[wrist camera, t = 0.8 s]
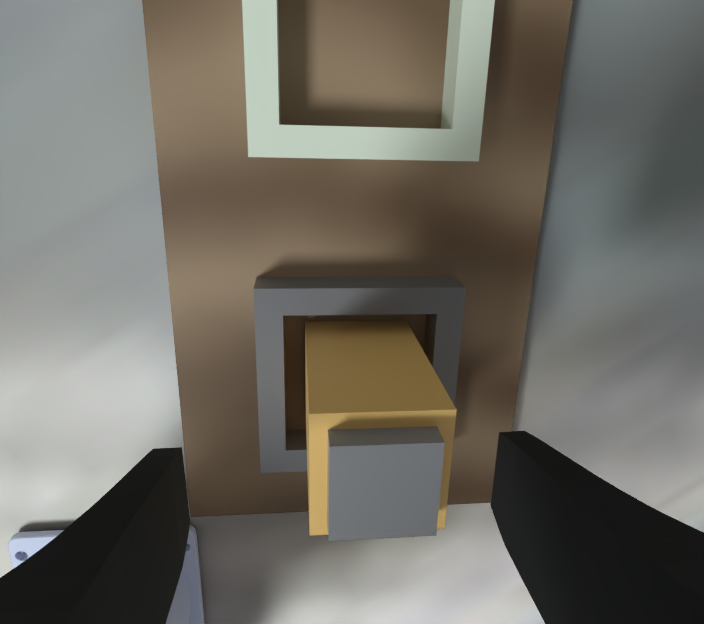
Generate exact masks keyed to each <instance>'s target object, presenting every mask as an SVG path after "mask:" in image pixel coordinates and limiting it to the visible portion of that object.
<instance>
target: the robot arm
mask: <svg viewBox="0 0 704 624" xmlns="http://www.w3.org/2000/svg"><path fill="white" fill-rule="evenodd" d="M491 508H492V510H493V513H494V516H495V519H496V522H497V525H498V528H499V530H500V533H501V536H502V538H503V541H504V544H505V546H506V548H507V550H508V552H509V554H510V556H511V558H512V560H513V562H514V564H515V566H516V568H517V570H518V572H519V574H520V576H521V578H522V580H523V582H524V584H525V585H526V587H527V589H528V591H529V593H530V595H531V597H532V599H533V601H534V603H535V605H536V607H537V608H538V610H539V612H540V614H541V616H542V618H543V620H544V622H545V624H704V533H703V532H701V531H699V530H697V529H695V528H692V527H690V526H688V525H686V524H684V523H682V522H680V521H678V520H676V519H674V518H672V517H670V516H668V515H665V514H663V513H662V512H660V511H658V510H656V509H654V508H652V507H650V506H648V505H646V504H644V503H643V502H641V501H639V500H637V499H636V498H634V497H632V496H630V495H628V494H627V493H625V492H623V491H621V490H620V489H618V488H616V487H614V486H613V485H611V484H609V483H608V482H606V481H604V480H603V479H601V478H599V477H598V476H596V475H595V474H593V473H591V472H590V471H588V470H587V469H585V468H583V467H582V466H580V465H579V464H577V463H576V462H574V461H572V460H571V459H569V458H568V457H566V456H565V455H563V454H562V453H560V452H558V451H557V450H555V449H554V448H552V447H551V446H549V445H547V444H546V443H544V442H543V441H541V440H539V439H538V438H536V437H534V436H533V435H531V434H529V433H527V432H525V431H513V432H499V437H498V446H497V454H496V463H495V472H494V480H493V489H492V497H491ZM187 543H188V544H189V545H187ZM8 549H9V554H10V558H11V562H12V566H13V569H12V570H11V571H10V572H8V573H7V574H5V575H4V576H2V577H1V578H0V624H205V621H204V610H203V599H202V588H201V577H200V566H199V555H198V544H197V533H196V530H195V528H194V527H193V526H191V525H190V517H189V508H188V499H187V490H186V482H185V473H184V464H183V455H182V447H181V448H161V449H153V450H151V451H150V452H149V453H148V454H147V455H146V456H145V457H144V458H143V459H142V460H141V461H140V462H139V463H138V464H137V465H136V466H134V467H133V468H132V469H131V470H130V471H129V472H128V473H127V474H126V475H125V476H124V477H123V478H122V479H121V480H120V481H119V482H118V483H117V484H116V485H115V486H114V487H113V488H112V489H110V490H109V491H108V492H107V493H106V494H105V495H104V496H103V497H102V498H101V499H100V500H99V501H98V502H96V503H95V504H94V505H93V506H92V507H91V508H90V509H89V510H87V511H86V512H85V513H84V514H83V515H81V516H80V517H79V518H78V519H77V520H76V521H74V522H73V523H72V524H71V525H70V526H68V527H67V528H66V529H65V530H52V531H32V532H19V533H16V534H14V535H13V536H12V538H11V539H10V541H9V542H8ZM21 551H23V552H25V553H27V554H24V553H22V552H21Z"/></svg>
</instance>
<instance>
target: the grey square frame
mask: <svg viewBox="0 0 704 624" xmlns="http://www.w3.org/2000/svg"><path fill="white" fill-rule="evenodd" d="M253 291H254V317H255V342H256V368H257V393H258V419H259V444H260V469H261V473H279V472H303V471H307V442H306V429H297V430H286V384H285V333H284V316H294V315H387V314H427V315H426V329H425V342H424V353H425V354H426V356H427V358H428V360H429V362H430V363H431V365H432V367H433V369H434V370H435V372H436V374H437V376H438V378H439V379H440V381H441V383H442V385H443V386H444V388H445V390H446V392H447V393H448V395H449V397H450V399H451V401H452V402H453V404H454V406H455V396H456V386H457V376H458V366H459V356H460V346H461V335H462V325H463V315H464V305H465V295H466V287H465V286H464V285H463V284H462V283H461V282H460V281H459V280H458V279H457V278H456V277H256V281H255V285H254V288H253Z"/></svg>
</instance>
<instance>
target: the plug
mask: <svg viewBox="0 0 704 624" xmlns="http://www.w3.org/2000/svg"><path fill="white" fill-rule="evenodd" d="M305 404H306V442H307V473H308V504H309V536H311V535H328V541H342V540H361V539H379V538H398V537H416V536H435V535H436V531H437V529H444V528H445V519H446V509H447V500H448V490H449V480H450V470H451V460H452V450H453V440H454V430H455V421H456V411H457V409H456V408H455V406H454V404H453V402H452V401H451V399H450V397H449V395H448V393H447V392H446V390H445V388H444V386H443V385H442V383H441V381H440V379H439V378H438V376H437V374H436V372H435V370H434V369H433V367H432V365H431V363H430V362H429V360H428V358H427V356H426V354H425V353H424V351H423V349H422V347H421V346H420V344H419V342H418V340H417V339H416V337H415V335H414V333H413V331H412V330H411V328H410V326H409V324H408V323H407V321H326V322H305Z"/></svg>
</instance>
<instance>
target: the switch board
mask: <svg viewBox="0 0 704 624" xmlns="http://www.w3.org/2000/svg"><path fill="white" fill-rule="evenodd" d="M142 3H143V14H144V24H145V35H146V45H147V56H148V67H149V77H150V88H151V99H152V109H153V120H154V130H155V141H156V152H157V162H158V173H159V184H160V194H161V205H162V215H163V226H164V237H165V247H166V258H167V269H168V279H169V290H170V300H171V311H172V322H173V332H174V343H175V354H176V364H177V375H178V385H179V396H180V407H181V417H182V428H183V439H184V449H185V460H186V471H187V481H188V492H189V502H190V513H191V517H200V516H221V515H241V514H262V513H283V512H304V511H309V504H308V473H307V471H303V472H279V473H261V469H260V444H259V419H258V393H257V368H256V342H255V317H254V291H253V288H254V285H255V281H256V277H456V278H457V279H458V280H459V281H460V282H461V283H462V284H463V285H464V286H465V287H466V295H465V305H464V315H463V325H462V335H461V346H460V356H459V366H458V376H457V386H456V396H455V408H456V409H457V411H456V421H455V430H454V440H453V450H452V460H451V470H450V480H449V490H448V500H447V505H449V504H470V503H490V502H491V497H492V489H493V480H494V472H495V463H496V454H497V446H498V437H499V432H512V425H513V418H514V411H515V404H516V397H517V390H518V383H519V376H520V369H521V362H522V355H523V348H524V341H525V334H526V327H527V320H528V313H529V305H530V298H531V291H532V284H533V277H534V270H535V263H536V256H537V249H538V242H539V235H540V228H541V221H542V214H543V207H544V200H545V193H546V186H547V179H548V172H549V165H550V158H551V151H552V144H553V137H554V130H555V123H556V116H557V109H558V102H559V95H560V88H561V81H562V74H563V67H564V60H565V53H566V46H567V39H568V32H569V25H570V17H571V10H572V3H573V0H495V4H494V14H493V24H492V34H491V44H490V54H489V64H488V74H487V84H486V94H485V104H484V114H483V124H482V134H481V144H480V155H479V161H428V160H376V159H325V158H273V157H248V139H247V113H246V88H245V63H244V37H243V12H242V0H142ZM449 8H450V0H278V26H279V78H280V125H311V126H351V127H390V128H429V129H440V128H441V115H442V102H443V88H444V75H445V61H446V48H447V35H448V21H449ZM426 315H427V314H387V315H294V316H284V333H285V384H286V430H297V429H306V404H305V322H326V321H407V323H408V324H409V326H410V328H411V330H412V331H413V333H414V335H415V337H416V339H417V340H418V342H419V344H420V346H421V347H422V349H423V351H424V342H425V329H426Z"/></svg>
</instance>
